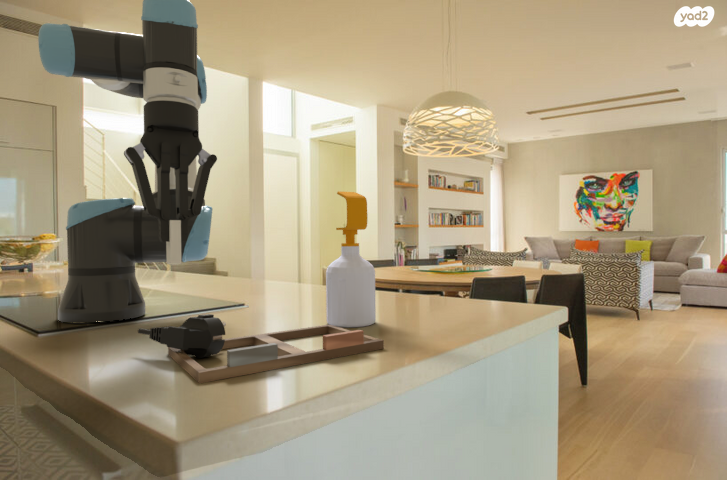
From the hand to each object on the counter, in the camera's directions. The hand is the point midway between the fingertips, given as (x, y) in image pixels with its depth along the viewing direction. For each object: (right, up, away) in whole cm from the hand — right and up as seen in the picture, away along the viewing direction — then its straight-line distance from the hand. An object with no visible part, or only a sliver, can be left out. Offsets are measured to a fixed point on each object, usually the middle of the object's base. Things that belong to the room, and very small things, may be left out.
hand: (173, 263), depth 69 cm
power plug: (-2, -9, -2) cm, 10 cm away
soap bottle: (+26, -12, +17) cm, 33 cm away
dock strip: (+16, -12, -4) cm, 21 cm away
